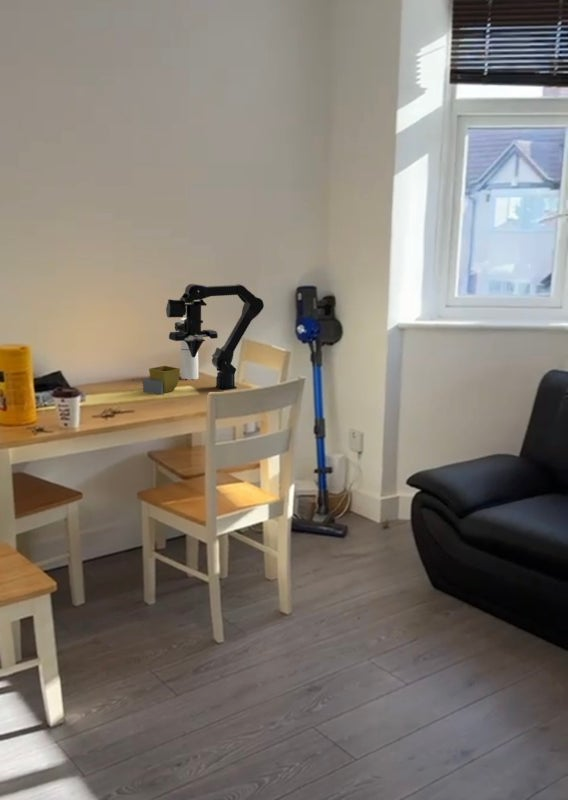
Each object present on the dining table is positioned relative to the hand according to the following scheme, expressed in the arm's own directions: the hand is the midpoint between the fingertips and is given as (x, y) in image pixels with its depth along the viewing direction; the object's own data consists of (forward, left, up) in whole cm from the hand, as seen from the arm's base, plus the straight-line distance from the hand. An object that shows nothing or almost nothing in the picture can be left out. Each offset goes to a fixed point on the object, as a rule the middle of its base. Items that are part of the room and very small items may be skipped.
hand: (193, 357), depth 301 cm
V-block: (+15, -6, -13) cm, 21 cm away
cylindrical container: (-10, -21, -13) cm, 27 cm away
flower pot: (+10, -4, -13) cm, 17 cm away
